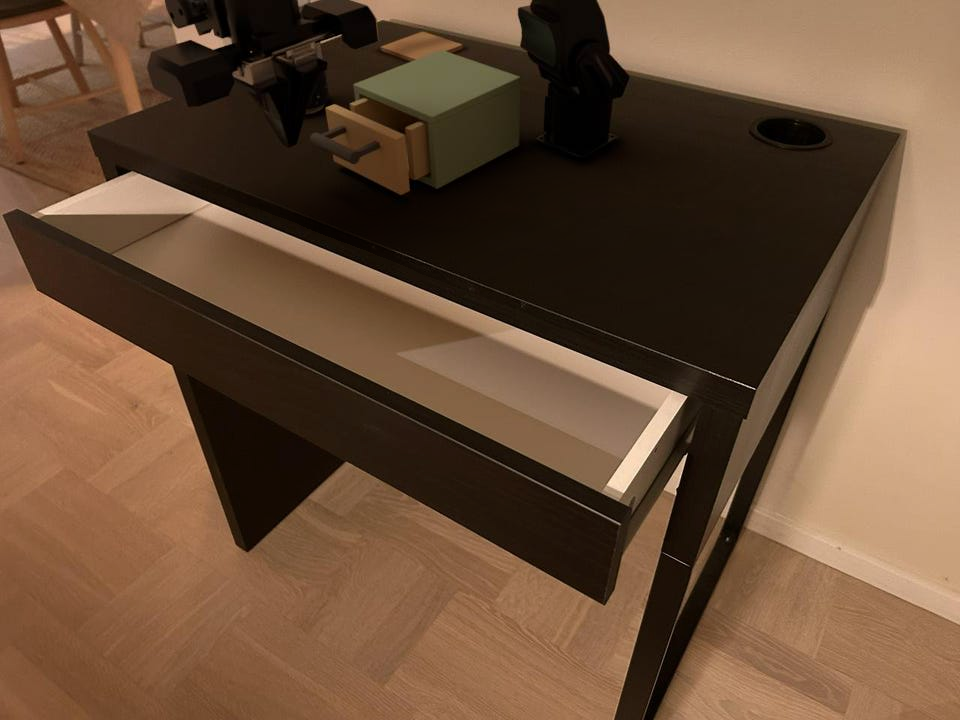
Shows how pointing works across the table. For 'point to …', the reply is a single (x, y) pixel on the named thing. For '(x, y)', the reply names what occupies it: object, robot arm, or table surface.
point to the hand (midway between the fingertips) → (289, 145)
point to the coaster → (420, 46)
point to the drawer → (377, 143)
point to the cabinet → (453, 109)
